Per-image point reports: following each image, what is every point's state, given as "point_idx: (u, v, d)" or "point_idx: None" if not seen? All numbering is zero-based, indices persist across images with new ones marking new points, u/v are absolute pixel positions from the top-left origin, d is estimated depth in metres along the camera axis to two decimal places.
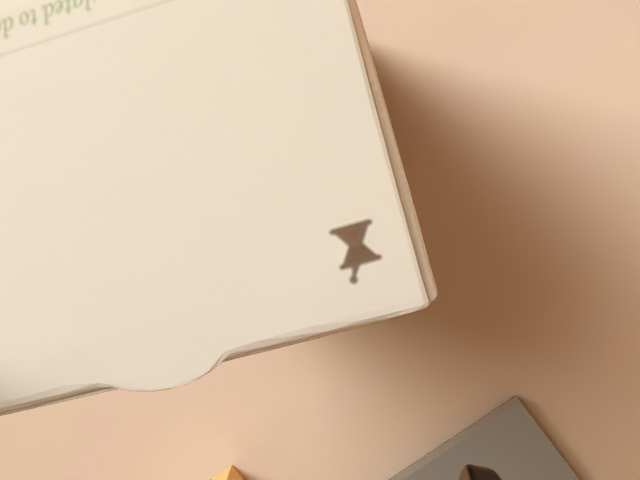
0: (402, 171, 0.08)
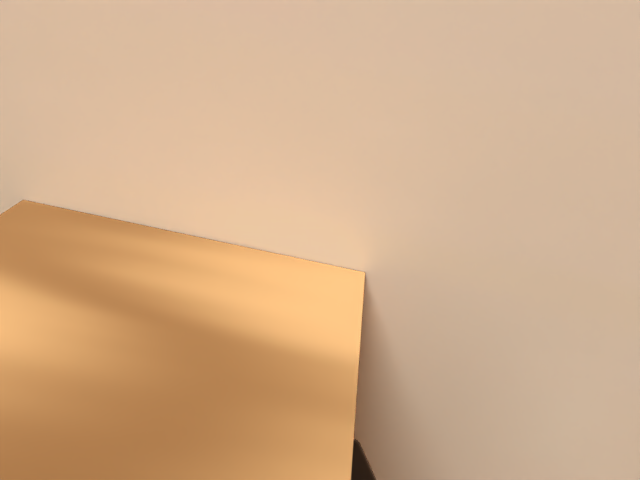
0: None
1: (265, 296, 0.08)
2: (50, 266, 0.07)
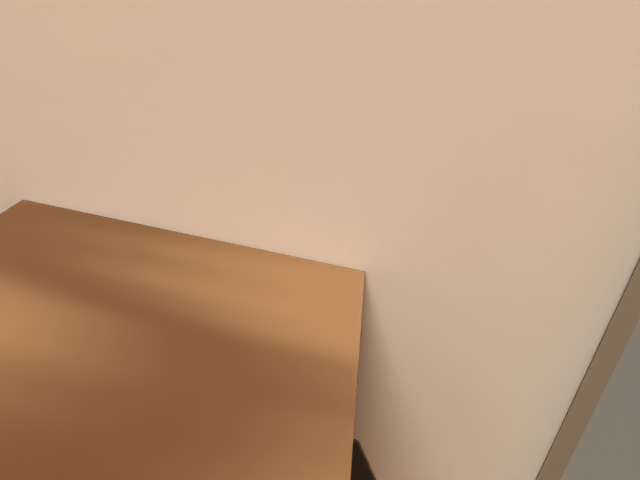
0: None
1: None
2: None
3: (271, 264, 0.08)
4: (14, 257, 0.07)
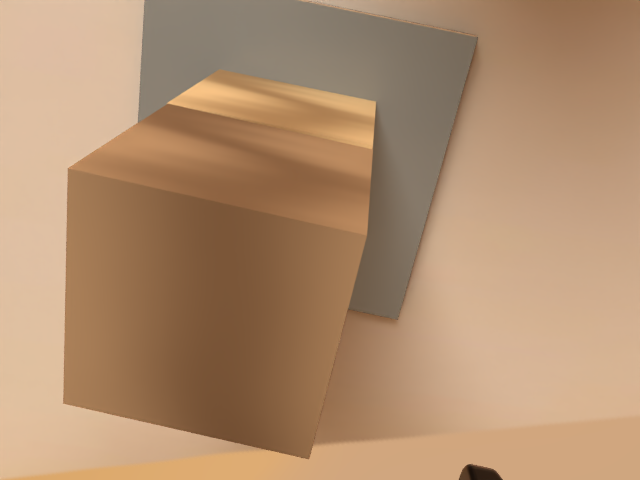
0: None
1: (334, 101, 0.18)
2: (246, 86, 0.17)
3: (318, 141, 0.14)
4: (178, 126, 0.13)
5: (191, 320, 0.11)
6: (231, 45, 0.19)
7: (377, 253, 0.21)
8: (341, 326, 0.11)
